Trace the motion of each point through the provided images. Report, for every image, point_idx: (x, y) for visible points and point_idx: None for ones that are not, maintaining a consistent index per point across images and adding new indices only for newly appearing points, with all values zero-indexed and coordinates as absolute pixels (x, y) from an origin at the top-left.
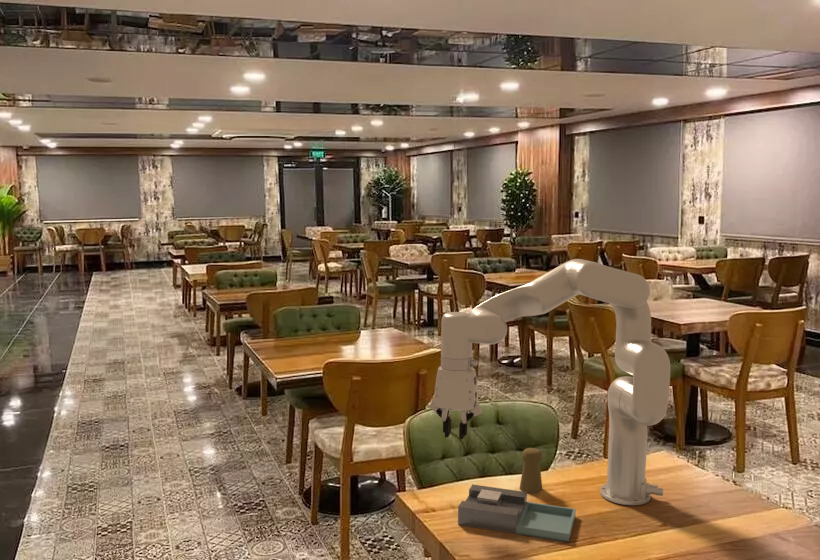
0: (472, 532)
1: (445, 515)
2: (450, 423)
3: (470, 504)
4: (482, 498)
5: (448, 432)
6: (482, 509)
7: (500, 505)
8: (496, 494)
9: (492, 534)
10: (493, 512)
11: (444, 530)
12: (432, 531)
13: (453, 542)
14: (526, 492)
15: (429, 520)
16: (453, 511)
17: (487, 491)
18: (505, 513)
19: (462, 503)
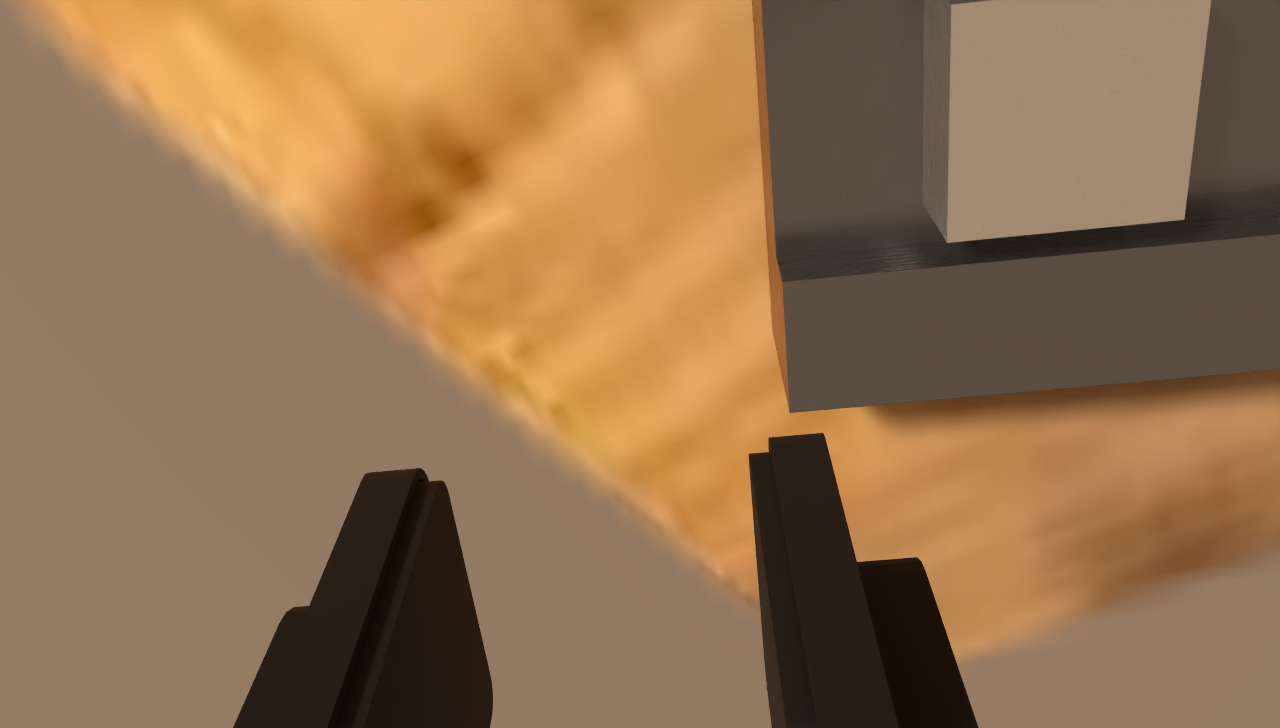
0: None
1: (608, 218)
2: (395, 722)
3: (890, 326)
4: (1007, 234)
5: (469, 716)
6: (1031, 378)
7: None
8: (1154, 75)
9: None
10: (1143, 379)
11: (705, 455)
12: (628, 502)
13: None
14: None
15: (525, 358)
16: (643, 108)
17: (1032, 39)
18: (1267, 367)
19: (807, 338)
